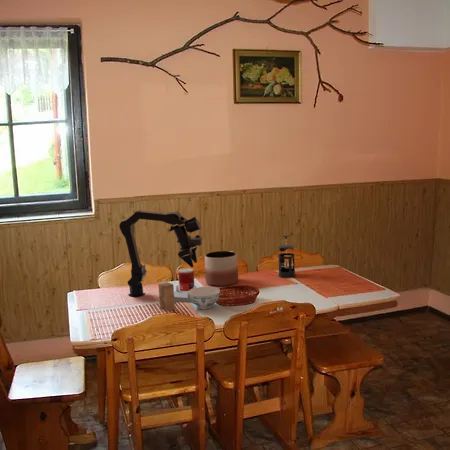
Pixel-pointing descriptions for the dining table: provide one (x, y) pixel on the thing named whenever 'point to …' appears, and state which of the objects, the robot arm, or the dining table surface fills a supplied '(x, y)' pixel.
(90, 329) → the dining table surface
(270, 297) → the dining table surface
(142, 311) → the dining table surface
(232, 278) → the planter
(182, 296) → the peg seat
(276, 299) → the dining table surface
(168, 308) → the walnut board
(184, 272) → the canned food
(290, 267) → the french press
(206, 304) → the chinaware
